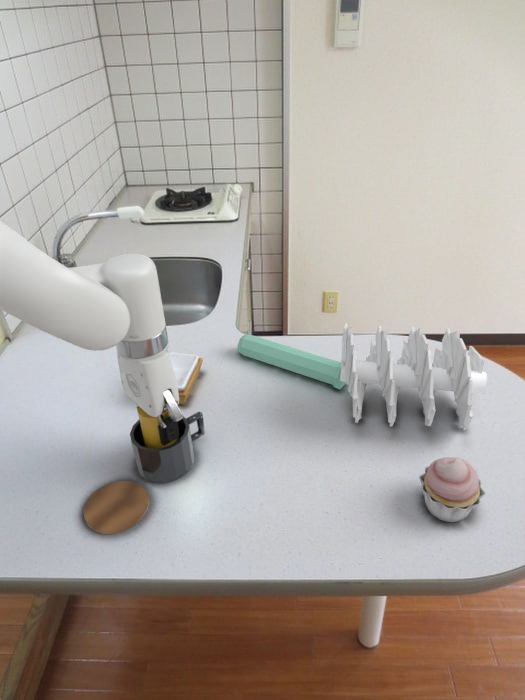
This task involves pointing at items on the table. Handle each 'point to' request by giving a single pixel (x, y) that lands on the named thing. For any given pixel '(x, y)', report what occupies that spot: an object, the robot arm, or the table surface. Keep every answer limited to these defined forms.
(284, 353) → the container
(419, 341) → the spiral staircase
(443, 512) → the cupcake
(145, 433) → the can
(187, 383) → the soap dish
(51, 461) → the table surface
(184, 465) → the mug
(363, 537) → the table surface
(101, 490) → the coaster
